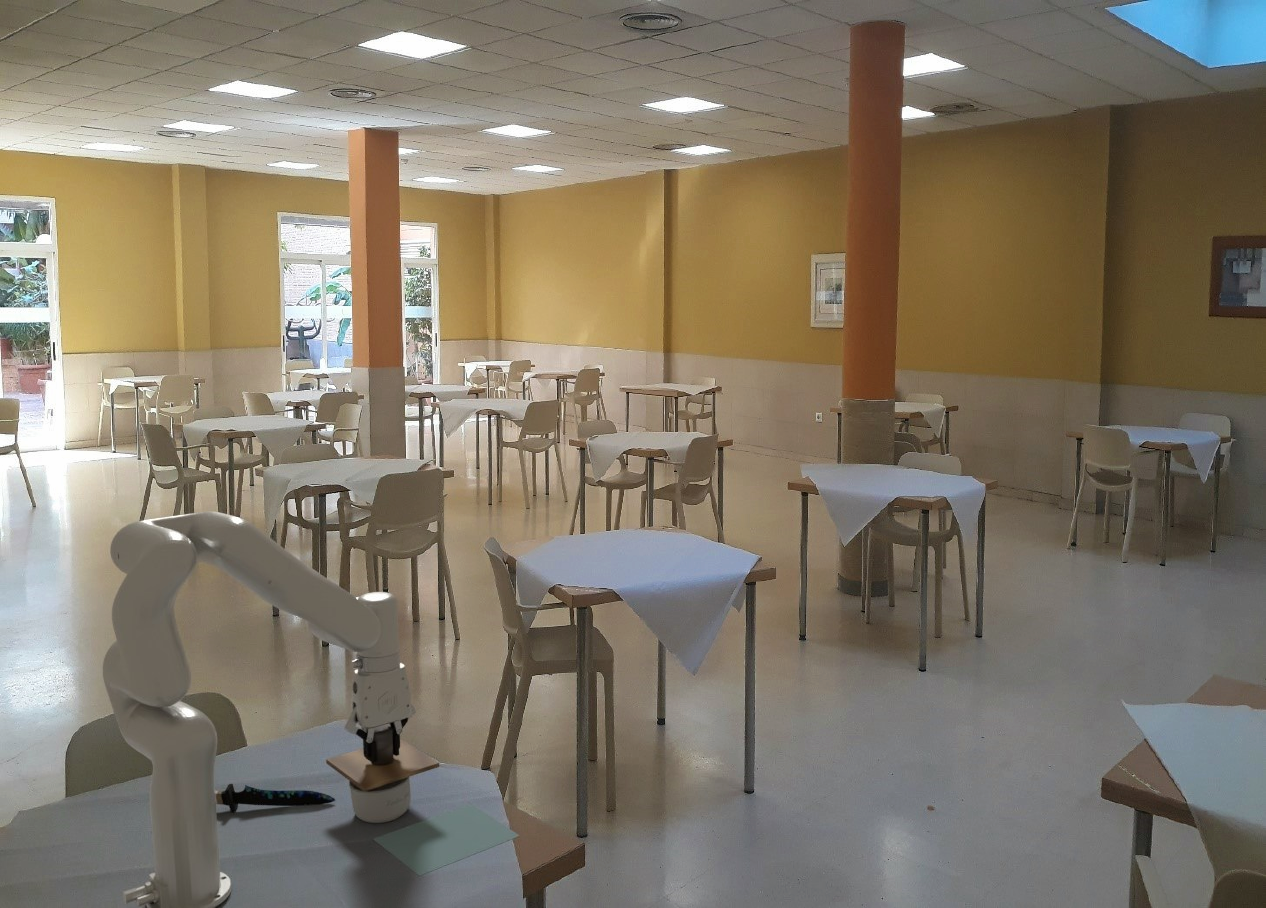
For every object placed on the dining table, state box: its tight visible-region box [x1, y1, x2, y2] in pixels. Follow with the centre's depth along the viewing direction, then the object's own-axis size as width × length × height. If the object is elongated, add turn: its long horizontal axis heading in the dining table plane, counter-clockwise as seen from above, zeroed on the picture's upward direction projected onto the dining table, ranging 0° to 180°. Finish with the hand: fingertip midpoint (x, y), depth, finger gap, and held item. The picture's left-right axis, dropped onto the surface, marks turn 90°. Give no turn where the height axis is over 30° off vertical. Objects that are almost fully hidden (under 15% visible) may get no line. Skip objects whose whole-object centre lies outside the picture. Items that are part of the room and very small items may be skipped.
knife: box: [215, 783, 336, 814], centre depth 200 cm, size 31×3×4 cm, turn 94°
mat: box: [372, 803, 521, 877], centre depth 188 cm, size 20×16×1 cm
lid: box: [325, 725, 440, 791], centre depth 197 cm, size 15×15×7 cm
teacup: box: [348, 777, 412, 824], centre depth 198 cm, size 14×11×8 cm
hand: (382, 755), depth 197 cm, fingers closed on lid, 3 cm apart
